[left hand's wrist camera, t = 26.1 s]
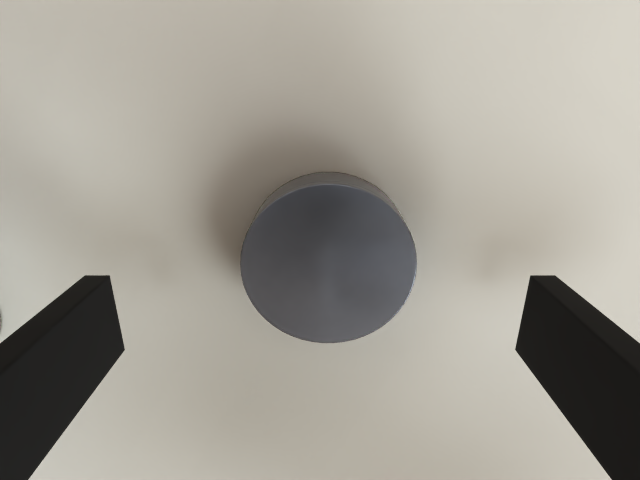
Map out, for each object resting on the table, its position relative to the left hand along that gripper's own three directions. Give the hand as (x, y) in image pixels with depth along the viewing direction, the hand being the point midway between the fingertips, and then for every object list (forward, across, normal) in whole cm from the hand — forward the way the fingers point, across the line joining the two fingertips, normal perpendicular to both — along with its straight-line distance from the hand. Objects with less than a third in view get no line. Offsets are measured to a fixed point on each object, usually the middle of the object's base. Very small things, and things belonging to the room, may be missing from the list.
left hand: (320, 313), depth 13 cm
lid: (+2, 0, -1) cm, 2 cm away
